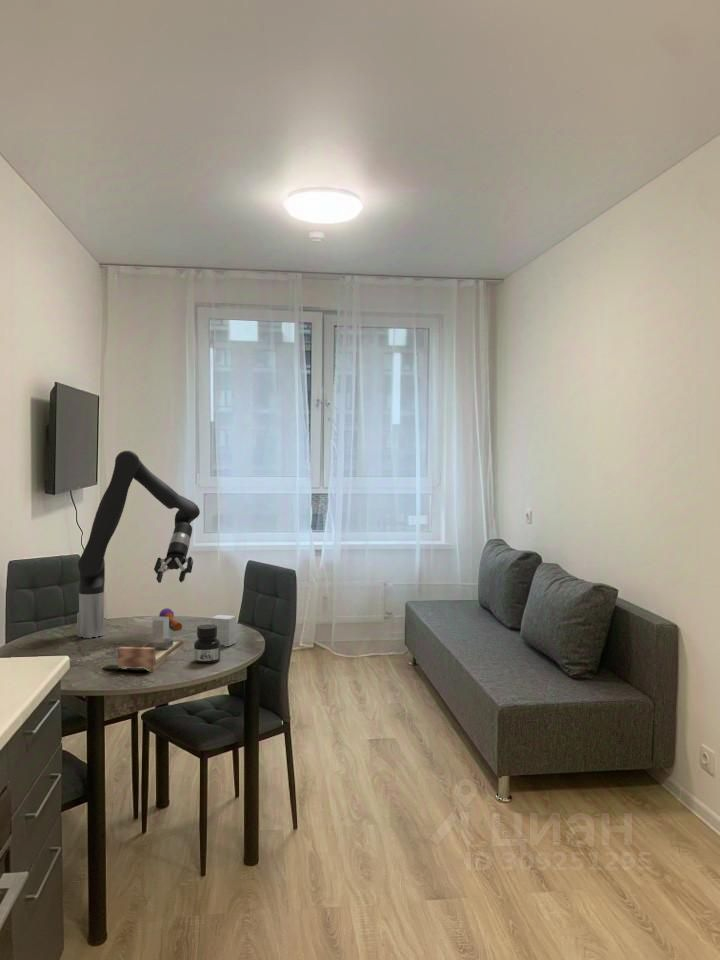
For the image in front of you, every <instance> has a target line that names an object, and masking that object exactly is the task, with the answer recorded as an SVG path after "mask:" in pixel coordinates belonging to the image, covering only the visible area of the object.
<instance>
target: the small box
mask: <svg viewBox="0 0 720 960" xmlns="http://www.w3.org/2000/svg"><path fill="white" fill-rule="evenodd" d="M210 624H211V625H216V626H217V637H216V638H217V639H218V640H219V641H220V645H227V646H230V645H232V644H234V643H235V644H237V616H235V615H227V614H224V615H223V614H217V615H214V616H212V617H210ZM235 644H234V645H235ZM227 646H226V647H227ZM232 646H233V645H232ZM230 647H231V646H230Z"/></svg>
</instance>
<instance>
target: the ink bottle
mask: <svg viewBox="0 0 720 960" xmlns="http://www.w3.org/2000/svg"><path fill="white" fill-rule="evenodd" d="M196 637H197V639H196V640H195V641H194V643H193V652H194V653H193V661H194V662H195V663H197V664H201V665H202V664H203V665H207V664H215V663H217V662H219V661H220V660H221V646H220V641H219V640H218V639H217V638H216V637H217V626H216V625H211V623H208V624H207V623H206V624H201V625H198V626H197V628H196Z"/></svg>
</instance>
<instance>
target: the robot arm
mask: <svg viewBox="0 0 720 960" xmlns="http://www.w3.org/2000/svg"><path fill="white" fill-rule="evenodd" d="M111 475H112V476H111V479H110V482H109V484H108V486H107V488H106V490H105V492H104V494H103V495H102V497H101V500H100V502H99V504H98V507H97V510H96V513H95V516H94V519H93V523H92V526H91V530H90V535H89V538H88V540H87V543H86V545H85V548H84V550H83V551H82V553H81V555H80V558H79V559H78V562H77V567H78V571H79V585H78V602H79V603H78V605H79V606H78V608H79V609H78V610H79V611H78V612H77V613H76V625H77V626H76V629H77V630H76V632H77V633H76V637H77V636H78V637H77V638H81V637H83V638H84V639H93V638H92V637H96V638H99V637H98V636H101V637H103V636H105V581H106V579H105V573H106V572H105V569H106V568H105V564H106V563H105V556H106V551H107V548H108V545H109V543H110V541H111V539H112V537H113V535H114V533H115V532H116V530H117V527H118V526H119V522H120V520H121V518H122V515H123V512H124V509H125V505H126V502H127V498H128V497H127V496H128V492H129V489H130V487H131V483H133V479H134V480H135V481H136V482H138V483H139V484H140V485H142V486H143V488H145V490H147V491H148V492H149V493H150V494H151V496H153V497H154V498H155V499H156V500H157V501H158V502H160V503H161V504H162V505H163V506H164V507H165V508H167V509H169V510H172V509H178V510H176V513H175V515H174V528H173V529H174V530H173V533H172V536H171V539H170V541H169V544H168V548H167V551H166V557H165V558H161V557H160V556H159V557H157V559H156V562H155V564H154V568H153V570H154V572H155V574H156V575H157V576H156V581H157V583H158V584H160V583H162V580H163V576H164V574H165V573H166V572H168V571H170V570H171V571H172V570H179V569H180V570H181V571H180V573H179V576H178V577H179V578H178V581H179V583H183V582H184V581H185V578H186V575H187V574H190V573H192V570H193V565H194V559H193V557H192V556H188V551H189V548H190V543H191V537H192V535H193V526H192V525H191V523H192V522H193V521H194V520H195V519H197V518H198V517H199V516H200V514H201V511H200V508H199V506H198V505H197V504H196V503H195V502H194V501H192V500H191V499H188V498H186V497H184V496H182V495H180V494H179V493H177V492H176V491H175V490H174V489H173V488H172V487H171V486H169V484H167V483H166V482H164V481H163V480H161V479H160V478H159V477H158V476H157V475H155V474H154V473H153V472H151V471H150V470H149V469H148V467H146V466H145V465H144V463H143V462H142V461H141V460H140V457H139V456H138V454H137V453H135V452H134V451H131V450H123V451H121V452H119V453H118V454H117V455H116V457H115V460H114V467H113V472H112V474H111ZM185 564H186V568H185V567H184V566H183V565H185ZM102 635H103V636H102ZM83 638H82V639H83Z"/></svg>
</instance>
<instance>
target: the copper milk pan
mask: <svg viewBox="0 0 720 960" xmlns="http://www.w3.org/2000/svg"><path fill="white" fill-rule="evenodd" d="M149 642H150V641H148V642H146V643H145V644H144V645H143V646H140V647H139V646H119V647H118V648H117V669H118V668H122V669H127V668H144V669H146V670H147V671H149V672H150V673H151V672H152V673H153V672H155V671H156V670H157V669H159V668H160V667H161V666H162V665H164V664H165V663H166V662H168V660H169V659H171V658H172V657H173V656H174V655H176V654H177V653H178V652H179V651H181V650H182V648H184V647H185V642H184V640H180V641H173V646H171V647H170V648H169V649H156V648H151V647H149Z"/></svg>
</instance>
